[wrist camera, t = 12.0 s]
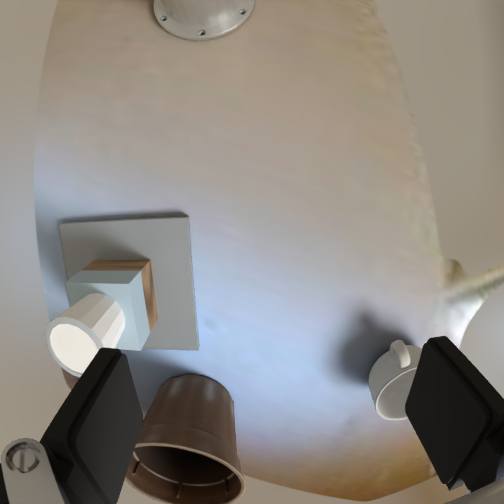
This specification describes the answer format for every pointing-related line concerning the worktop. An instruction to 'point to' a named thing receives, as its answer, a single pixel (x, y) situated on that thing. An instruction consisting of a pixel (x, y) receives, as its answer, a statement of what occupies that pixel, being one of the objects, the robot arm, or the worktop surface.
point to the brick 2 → (123, 292)
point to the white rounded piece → (84, 332)
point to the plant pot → (188, 445)
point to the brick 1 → (145, 274)
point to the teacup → (393, 379)
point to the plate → (162, 263)
